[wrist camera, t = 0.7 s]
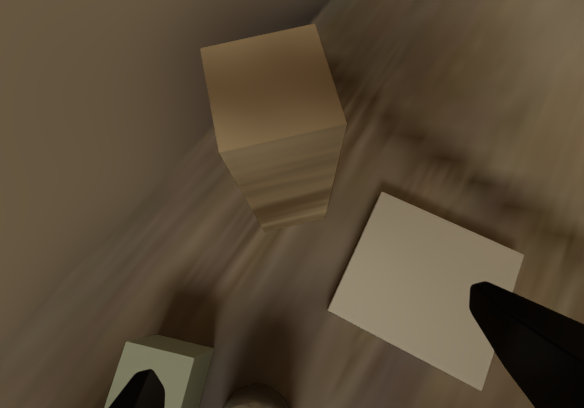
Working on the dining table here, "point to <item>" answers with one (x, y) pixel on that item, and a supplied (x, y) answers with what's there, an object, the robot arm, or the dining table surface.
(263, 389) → the grey cylinder
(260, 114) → the oak block
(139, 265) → the dining table surface
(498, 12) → the dining table surface
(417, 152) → the dining table surface
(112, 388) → the sage cube
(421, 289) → the tile
